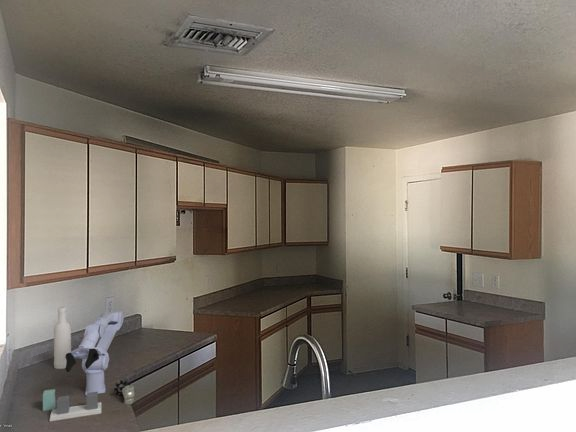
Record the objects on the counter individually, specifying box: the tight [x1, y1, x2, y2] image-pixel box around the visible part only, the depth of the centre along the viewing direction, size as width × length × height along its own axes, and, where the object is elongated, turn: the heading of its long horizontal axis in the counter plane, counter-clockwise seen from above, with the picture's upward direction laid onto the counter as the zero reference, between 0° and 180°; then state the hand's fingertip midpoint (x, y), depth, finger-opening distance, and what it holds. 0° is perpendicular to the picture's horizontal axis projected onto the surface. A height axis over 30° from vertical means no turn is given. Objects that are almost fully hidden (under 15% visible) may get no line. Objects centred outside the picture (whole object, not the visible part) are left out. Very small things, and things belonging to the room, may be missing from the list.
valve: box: [113, 379, 135, 405], centre depth 191 cm, size 7×7×12 cm
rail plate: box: [49, 392, 102, 422], centre depth 179 cm, size 9×18×6 cm, turn 112°
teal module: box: [42, 388, 56, 412], centre depth 184 cm, size 4×4×6 cm
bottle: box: [53, 306, 72, 370], centre depth 232 cm, size 8×8×30 cm
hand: (76, 368), depth 179 cm, fingers open, 7 cm apart
